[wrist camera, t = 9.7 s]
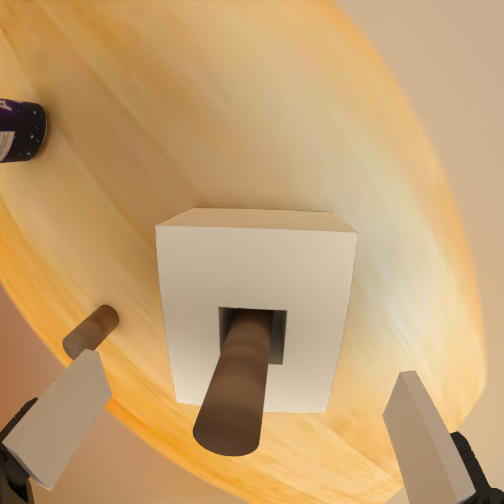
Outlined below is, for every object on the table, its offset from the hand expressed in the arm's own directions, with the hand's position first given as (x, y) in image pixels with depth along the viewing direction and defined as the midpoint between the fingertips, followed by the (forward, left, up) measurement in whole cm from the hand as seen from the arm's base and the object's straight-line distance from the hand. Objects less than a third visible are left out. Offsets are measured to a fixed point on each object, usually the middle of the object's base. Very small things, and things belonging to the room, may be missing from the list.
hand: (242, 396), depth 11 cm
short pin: (+4, -14, -12) cm, 19 cm away
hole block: (0, 0, -12) cm, 12 cm away
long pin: (0, 0, -12) cm, 12 cm away
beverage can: (-14, -22, -12) cm, 29 cm away
